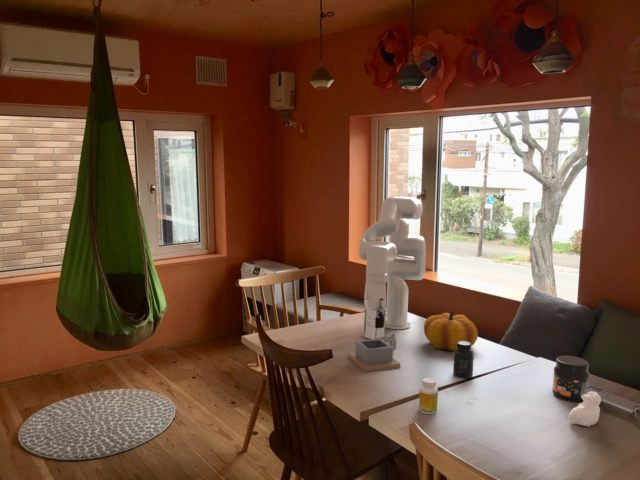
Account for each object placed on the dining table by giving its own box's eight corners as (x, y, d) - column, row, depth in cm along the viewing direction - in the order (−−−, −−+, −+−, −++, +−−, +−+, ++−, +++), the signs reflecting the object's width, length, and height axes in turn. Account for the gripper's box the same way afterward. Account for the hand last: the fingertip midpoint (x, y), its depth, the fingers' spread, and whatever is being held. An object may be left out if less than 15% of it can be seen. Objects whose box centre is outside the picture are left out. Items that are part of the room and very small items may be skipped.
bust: (572, 436, 158) (597, 416, 151) (555, 412, 162) (579, 392, 155) (597, 426, 164) (622, 406, 157) (579, 403, 169) (604, 383, 161)
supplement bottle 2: (476, 375, 196) (478, 342, 194) (466, 380, 191) (468, 347, 189) (458, 370, 200) (460, 338, 199) (449, 375, 195) (450, 342, 194)
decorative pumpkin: (487, 349, 224) (489, 313, 221) (449, 359, 211) (451, 321, 209) (449, 335, 240) (451, 302, 238) (412, 344, 228) (413, 309, 226)
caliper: (396, 349, 222) (396, 334, 221) (394, 350, 221) (394, 335, 220) (362, 336, 238) (362, 322, 237) (360, 336, 237) (360, 322, 236)
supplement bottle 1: (433, 416, 164) (434, 385, 163) (416, 411, 167) (417, 381, 165) (439, 409, 169) (440, 379, 167) (422, 405, 171) (424, 375, 170)
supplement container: (544, 391, 183) (547, 357, 181) (568, 387, 187) (571, 353, 185) (570, 405, 173) (573, 368, 171) (594, 399, 177) (598, 364, 175)
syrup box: (373, 333, 210) (374, 296, 208) (385, 337, 206) (386, 299, 204) (363, 336, 206) (364, 298, 204) (375, 340, 202) (376, 301, 200)
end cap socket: (348, 356, 213) (348, 339, 212) (381, 353, 217) (382, 335, 216) (365, 371, 198) (365, 353, 197) (400, 367, 202) (400, 349, 201)
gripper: (357, 273, 210) (356, 319, 212) (376, 283, 193) (375, 332, 196) (375, 273, 212) (374, 317, 214) (396, 282, 196) (394, 330, 198)
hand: (374, 324), depth 205 cm, fingers closed on syrup box, 7 cm apart
